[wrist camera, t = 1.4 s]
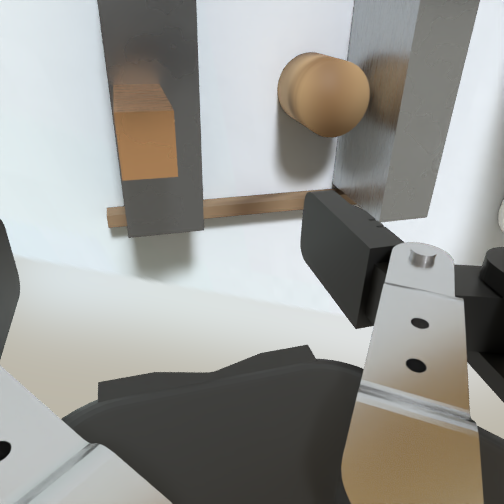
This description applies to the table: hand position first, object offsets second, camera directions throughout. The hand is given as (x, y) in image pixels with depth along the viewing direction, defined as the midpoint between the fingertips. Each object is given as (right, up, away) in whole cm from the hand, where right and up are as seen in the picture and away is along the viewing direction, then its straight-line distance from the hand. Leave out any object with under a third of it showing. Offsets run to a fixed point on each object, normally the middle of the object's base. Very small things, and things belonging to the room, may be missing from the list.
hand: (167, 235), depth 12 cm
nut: (+7, +12, +22) cm, 26 cm away
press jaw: (-5, +11, +19) cm, 22 cm away
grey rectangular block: (+12, +13, +23) cm, 29 cm away
